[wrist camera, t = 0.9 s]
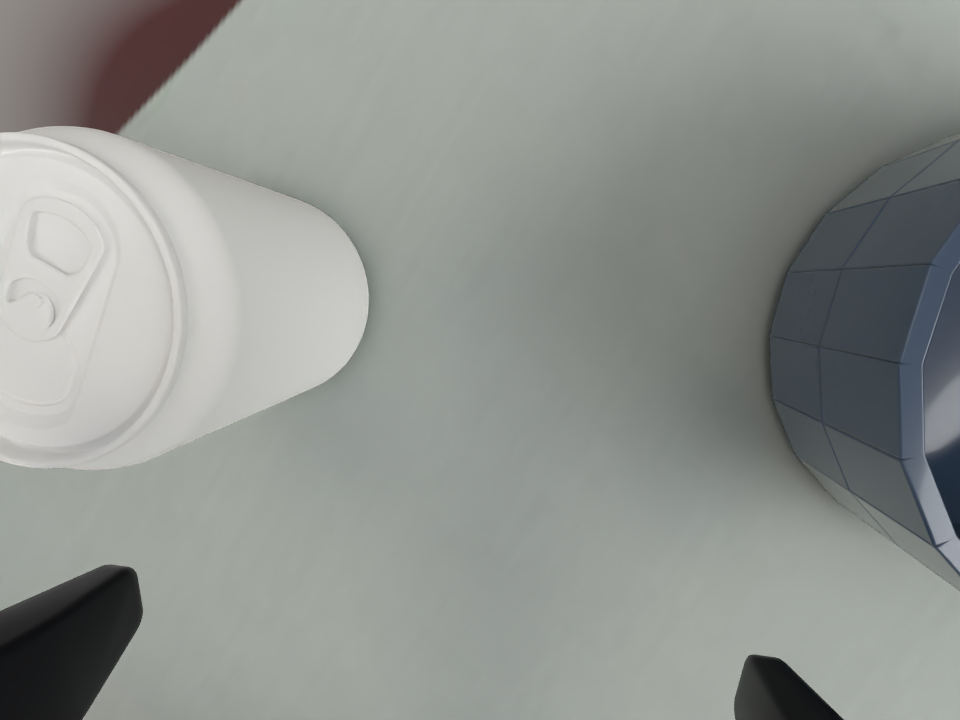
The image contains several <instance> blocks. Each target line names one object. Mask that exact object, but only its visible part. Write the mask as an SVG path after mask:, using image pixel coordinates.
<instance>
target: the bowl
mask: <svg viewBox="0 0 960 720" xmlns="http://www.w3.org/2000/svg"><path fill="white" fill-rule="evenodd" d="M769 339H770V358H771V378H772V396H773V402H774V404H775V407H776V409H777V411H778V414H779V416H780V419H781V421H782V424H783V426H784V428H785V431H786V433H787V436H788V438H789V441H790V443H791V446H792V448H793V450H794V453H795V455H797V457H798V459H799V460H800V461H801V462H802V463H803V464H804V465H805V466H806V468H807V469H808V470H809V471H810V472H811V473H812V474H813V475H814V477H815V478H816V479H817V480H818V481H819V482H820V483H821V484H822V486H823V487H824V488H825V489H826V490H827V491H828V492H829V493H830V495H831V496H832V497H833V498H834V499H835V500H836V501H837V502H839V503H840V504H841V505H842V506H844V507H845V508H846V509H848V510H849V511H851V512H852V513H853V514H855V515H856V516H857V517H859V518H860V519H862V520H863V521H864V522H866V523H867V524H868V525H870V526H871V527H873V528H874V529H875V530H877V531H878V532H879V533H881V534H882V535H884V536H885V537H886V538H888V539H889V540H890V541H892V542H893V543H895V544H896V545H897V546H899V547H900V548H902V549H903V550H904V551H905V552H907V553H908V554H910V555H911V556H912V557H914V558H915V559H916V560H918V561H919V562H921V563H922V564H923V565H925V566H926V567H927V568H929V569H930V570H932V571H933V572H934V573H936V574H937V575H938V576H940V577H941V578H943V579H944V580H945V581H947V582H948V583H949V584H951V585H952V586H954V587H955V588H956V589H958V590H959V591H960V133H958V134H956V135H953V136H950V137H948V138H946V139H943V140H941V141H939V142H937V143H934V144H932V145H930V146H928V147H925V148H923V149H921V150H918V151H916V152H914V153H912V154H909V155H907V156H905V157H903V158H900V159H898V160H896V161H894V162H891V163H889V164H887V165H885V166H884V167H882V168H880V169H879V170H878V171H876V172H875V173H874V174H873V175H872V176H870V177H869V178H868V179H867V180H866V181H864V182H863V183H862V184H861V185H860V186H858V187H857V188H856V189H855V190H854V191H853V192H851V193H850V194H849V195H848V196H847V197H845V198H844V199H843V200H842V201H841V202H839V203H838V204H837V205H836V206H835V207H833V208H832V209H831V210H830V211H829V212H828V213H827V215H825V216H824V217H823V219H822V220H821V222H820V223H819V225H818V226H817V228H816V229H815V231H814V232H813V234H812V235H811V237H810V239H809V240H808V242H807V243H806V245H805V246H804V248H803V249H802V251H801V252H800V254H799V255H798V257H797V258H796V260H795V261H794V263H793V264H792V266H791V267H790V269H789V270H788V273H787V275H786V279H785V282H784V286H783V289H782V293H781V296H780V300H779V303H778V307H777V310H776V314H775V318H774V321H773V325H772V328H771V332H770V338H769Z"/></svg>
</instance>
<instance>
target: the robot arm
mask: <svg viewBox="0 0 960 720" xmlns="http://www.w3.org/2000/svg"><path fill="white" fill-rule="evenodd" d="M142 615H143V607H142V601H141V595H140V589H139V583H138V577H137V573H136V572H135V571H134V569H132V568H130V567H125V566H117V565H104V566H101V567H99V568H96V569H94V570H92V571H90V572H87V573H85V574H83V575H81V576H78V577H76V578H74V579H72V580H69V581H67V582H65V583H63V584H60V585H58V586H56V587H54V588H51V589H49V590H47V591H45V592H42V593H40V594H38V595H35V596H33V597H31V598H29V599H26V600H24V601H22V602H20V603H17V604H15V605H13V606H11V607H8V608H6V609H4V610H2V611H0V720H82V719H83V717H84V716H85V714H86V713H87V711H88V710H89V708H90V706H91V705H92V703H93V701H94V700H95V698H96V696H97V695H98V693H99V692H100V690H101V688H102V687H103V685H104V683H105V682H106V680H107V678H108V677H109V675H110V673H111V672H112V670H113V669H114V667H115V665H116V664H117V662H118V660H119V659H120V657H121V655H122V654H123V652H124V650H125V649H126V647H127V646H128V644H129V642H130V641H131V639H132V637H133V636H134V634H135V632H136V631H137V629H138V627H139V625H140V622H141V619H142ZM734 712H735V720H844V719H843V718H842V717H840V716H839V715H838V714H837V713H836V712H835V711H834V710H833V709H832V708H831V707H830V706H829V705H828V704H827V703H826V702H825V701H824V700H823V699H822V698H821V697H820V696H819V695H818V694H817V693H816V692H815V691H814V690H813V689H812V688H811V687H810V686H809V685H808V684H807V683H806V682H805V681H804V680H803V679H802V678H801V677H799V676H798V675H797V674H796V673H795V672H794V671H793V670H792V669H791V668H790V667H789V666H788V665H787V664H786V663H785V662H784V661H782V660H781V659H779V658H775V657H768V656H761V655H750V656H748V657H747V659H746V661H745V663H744V667H743V670H742V674H741V678H740V681H739V685H738V689H737V692H736V696H735V702H734Z"/></svg>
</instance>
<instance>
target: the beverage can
mask: <svg viewBox="0 0 960 720" xmlns="http://www.w3.org/2000/svg"><path fill="white" fill-rule="evenodd" d="M368 309H369V291H368V283H367V278H366V273H365V270H364V267H363V264H362V261H361V259H360V256H359V254H358V252H357V250H356V248H355V246H354V245H353V243H352V241H351V240H350V239H349V237H348V236H347V234H346V233H345V232H344V231H343V230H342V228H341V227H340V226H339V225H338V224H337V223H336V222H335V221H334V220H332V219H331V218H330V217H329V216H328V215H326V214H325V213H324V212H322V211H321V210H319V209H317V208H316V207H314V206H312V205H310V204H308V203H305V202H303V201H300V200H298V199H295V198H292V197H289V196H287V195H284V194H281V193H278V192H275V191H273V190H270V189H267V188H264V187H261V186H259V185H256V184H253V183H250V182H247V181H245V180H242V179H239V178H236V177H233V176H231V175H228V174H225V173H222V172H219V171H217V170H214V169H211V168H208V167H205V166H203V165H200V164H197V163H194V162H191V161H189V160H186V159H183V158H180V157H178V156H175V155H172V154H169V153H166V152H164V151H161V150H158V149H155V148H152V147H150V146H147V145H144V144H141V143H138V142H136V141H133V140H130V139H127V138H124V137H121V136H119V135H116V134H112V133H109V132H105V131H101V130H97V129H91V128H84V127H74V126H50V127H41V128H33V129H29V130H24V131H20V132H2V133H0V461H3V462H7V463H10V464H14V465H19V466H26V467H34V468H58V467H63V468H70V469H79V470H104V469H114V468H120V467H126V466H130V465H135V464H138V463H141V462H144V461H147V460H150V459H152V458H154V457H157V456H159V455H162V454H164V453H166V452H169V451H171V450H173V449H175V448H178V447H180V446H182V445H184V444H187V443H189V442H191V441H194V440H196V439H198V438H200V437H203V436H205V435H207V434H210V433H212V432H214V431H216V430H219V429H221V428H223V427H225V426H228V425H230V424H232V423H235V422H237V421H239V420H241V419H244V418H246V417H248V416H251V415H253V414H255V413H257V412H260V411H262V410H264V409H266V408H269V407H271V406H273V405H276V404H278V403H280V402H282V401H285V400H287V399H289V398H291V397H294V396H296V395H298V394H301V393H303V392H305V391H307V390H310V389H312V388H314V387H316V386H318V385H320V384H322V383H324V382H325V381H327V380H328V379H330V378H331V377H332V376H334V375H335V374H336V373H337V372H338V371H340V370H341V369H342V368H343V366H344V365H345V364H346V363H347V362H348V361H349V359H350V358H351V357H352V355H353V354H354V352H355V350H356V349H357V347H358V345H359V343H360V340H361V338H362V336H363V333H364V330H365V326H366V322H367V317H368Z"/></svg>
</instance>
